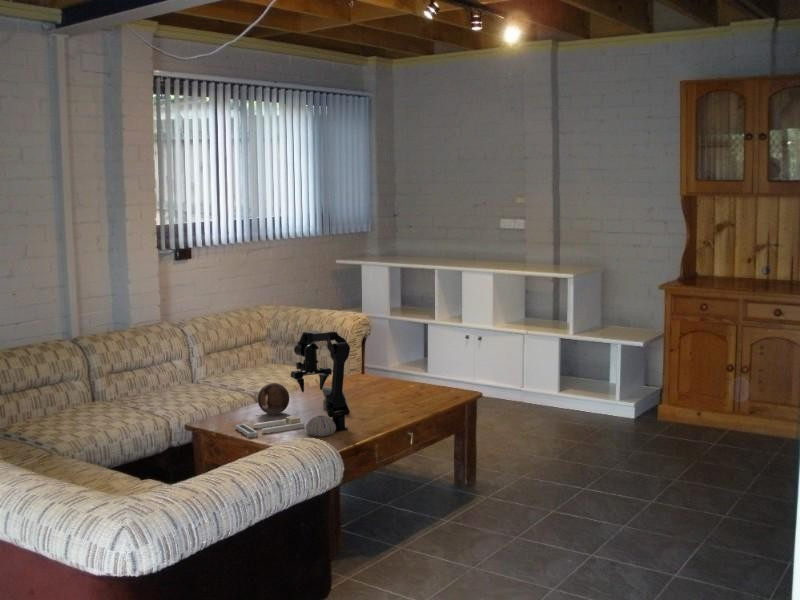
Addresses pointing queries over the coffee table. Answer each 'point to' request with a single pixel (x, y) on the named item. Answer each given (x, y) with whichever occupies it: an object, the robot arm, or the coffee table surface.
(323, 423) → the sea urchin shell
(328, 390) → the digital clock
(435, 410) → the coffee table surface
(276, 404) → the wooden sphere
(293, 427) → the channel
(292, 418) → the birch block
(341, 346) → the robot arm
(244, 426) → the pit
